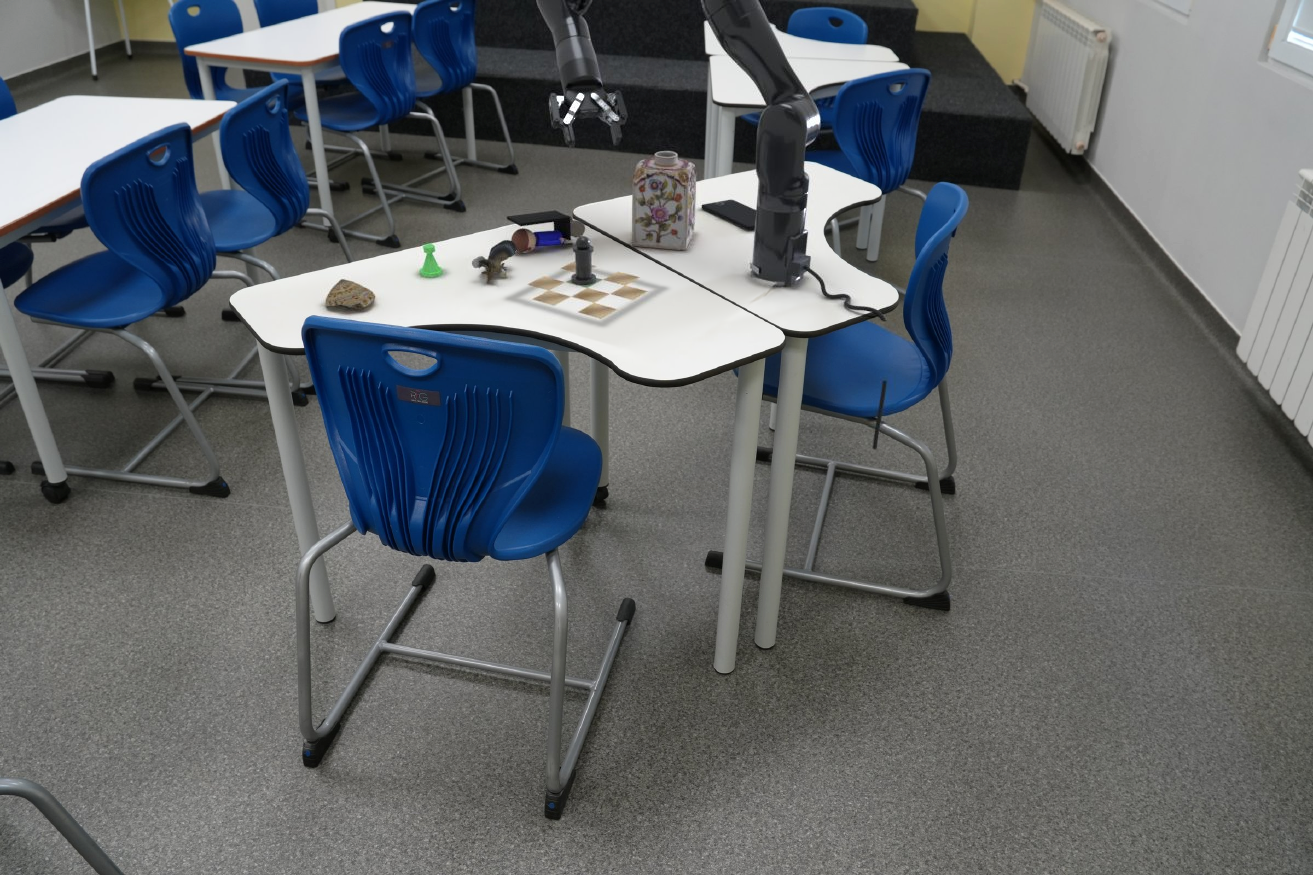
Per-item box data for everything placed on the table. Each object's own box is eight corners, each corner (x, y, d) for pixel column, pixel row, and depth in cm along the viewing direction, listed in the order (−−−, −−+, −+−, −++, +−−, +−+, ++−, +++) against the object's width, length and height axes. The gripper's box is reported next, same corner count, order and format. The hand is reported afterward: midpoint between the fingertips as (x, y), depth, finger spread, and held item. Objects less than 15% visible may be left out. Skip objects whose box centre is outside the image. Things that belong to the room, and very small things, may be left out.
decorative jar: (695, 233, 209) (699, 148, 200) (687, 251, 199) (690, 163, 190) (640, 228, 211) (641, 144, 201) (629, 246, 201) (630, 159, 192)
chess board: (662, 288, 182) (662, 282, 181) (601, 324, 167) (601, 318, 166) (575, 266, 191) (575, 260, 190) (510, 298, 176) (509, 292, 175)
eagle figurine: (517, 280, 181) (526, 255, 187) (493, 250, 177) (503, 226, 184) (486, 297, 184) (495, 272, 190) (461, 268, 180) (472, 244, 187)
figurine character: (567, 243, 206) (504, 248, 197) (569, 207, 202) (505, 211, 194) (584, 252, 201) (520, 258, 193) (587, 216, 198) (522, 220, 189)
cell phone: (731, 203, 228) (731, 199, 227) (780, 224, 215) (780, 220, 214) (700, 208, 223) (700, 204, 223) (748, 231, 211) (748, 227, 210)
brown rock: (352, 306, 166) (319, 280, 167) (347, 331, 169) (315, 305, 171) (387, 291, 172) (355, 265, 173) (382, 315, 175) (350, 290, 177)
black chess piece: (601, 279, 182) (600, 235, 178) (586, 287, 179) (586, 242, 174) (580, 274, 184) (580, 230, 180) (566, 281, 181) (565, 237, 176)
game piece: (415, 273, 185) (411, 243, 182) (434, 267, 188) (431, 237, 185) (428, 279, 183) (425, 248, 180) (447, 273, 186) (444, 243, 183)
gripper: (544, 57, 180) (560, 135, 176) (618, 54, 184) (636, 130, 180) (539, 82, 187) (555, 157, 183) (610, 79, 191) (627, 152, 187)
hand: (595, 144), depth 182 cm, fingers open, 8 cm apart
